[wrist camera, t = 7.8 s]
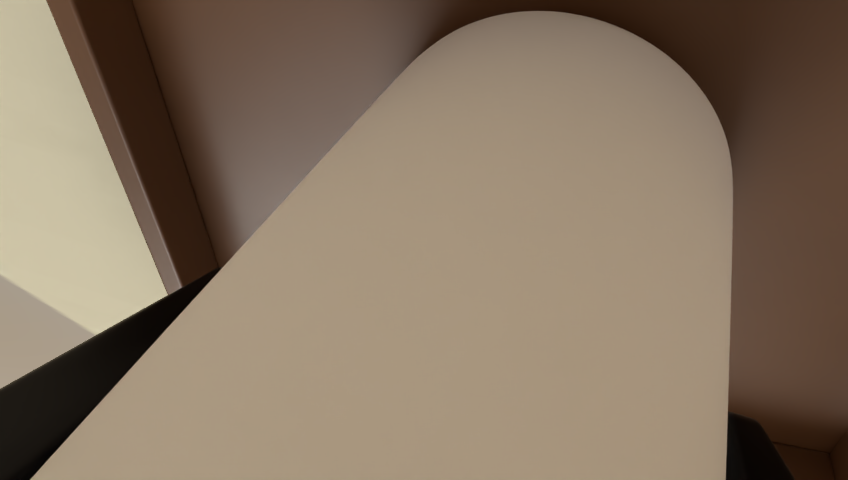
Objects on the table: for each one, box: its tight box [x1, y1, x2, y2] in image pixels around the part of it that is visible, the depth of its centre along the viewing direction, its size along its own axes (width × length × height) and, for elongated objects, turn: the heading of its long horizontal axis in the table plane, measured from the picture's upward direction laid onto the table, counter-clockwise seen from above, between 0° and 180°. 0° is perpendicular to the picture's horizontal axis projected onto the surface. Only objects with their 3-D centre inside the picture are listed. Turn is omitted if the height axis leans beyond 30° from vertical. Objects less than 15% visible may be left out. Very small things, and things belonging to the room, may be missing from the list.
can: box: [30, 11, 733, 480], centre depth 8 cm, size 6×6×12 cm
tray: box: [47, 0, 848, 480], centre depth 12 cm, size 17×15×2 cm
